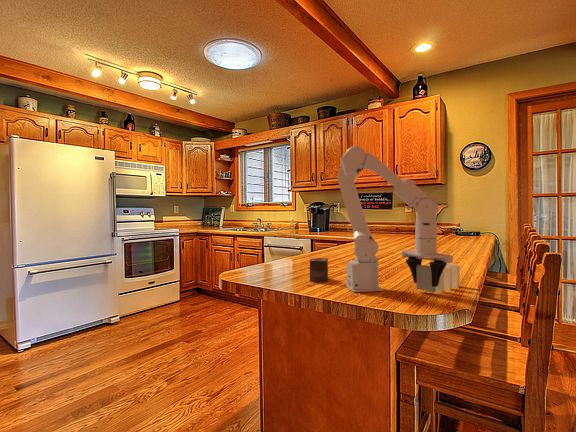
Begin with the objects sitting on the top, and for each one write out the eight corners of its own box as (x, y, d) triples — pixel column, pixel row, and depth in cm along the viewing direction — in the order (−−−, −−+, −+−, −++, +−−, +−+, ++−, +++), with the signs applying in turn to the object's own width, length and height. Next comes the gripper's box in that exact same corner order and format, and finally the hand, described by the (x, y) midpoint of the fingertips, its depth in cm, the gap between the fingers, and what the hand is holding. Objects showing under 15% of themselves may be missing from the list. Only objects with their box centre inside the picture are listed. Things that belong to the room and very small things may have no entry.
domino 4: (457, 287, 98) (457, 265, 98) (441, 284, 102) (441, 263, 102) (459, 286, 99) (459, 265, 99) (443, 283, 103) (443, 262, 103)
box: (326, 282, 107) (326, 261, 106) (309, 281, 108) (309, 260, 108) (328, 278, 113) (328, 258, 112) (311, 277, 114) (311, 257, 114)
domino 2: (441, 293, 92) (441, 269, 92) (425, 289, 96) (425, 267, 96) (443, 292, 93) (444, 269, 93) (427, 288, 97) (428, 266, 97)
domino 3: (449, 290, 95) (449, 267, 95) (433, 287, 99) (433, 265, 99) (452, 289, 96) (452, 266, 96) (436, 286, 100) (436, 264, 100)
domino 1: (432, 292, 89) (432, 267, 89) (416, 288, 93) (416, 265, 93) (435, 291, 90) (435, 267, 90) (419, 287, 94) (419, 264, 94)
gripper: (458, 239, 88) (457, 286, 88) (410, 235, 99) (410, 278, 100) (445, 240, 84) (445, 291, 84) (397, 237, 95) (397, 281, 96)
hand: (425, 284), depth 92 cm, fingers closed on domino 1, 5 cm apart
